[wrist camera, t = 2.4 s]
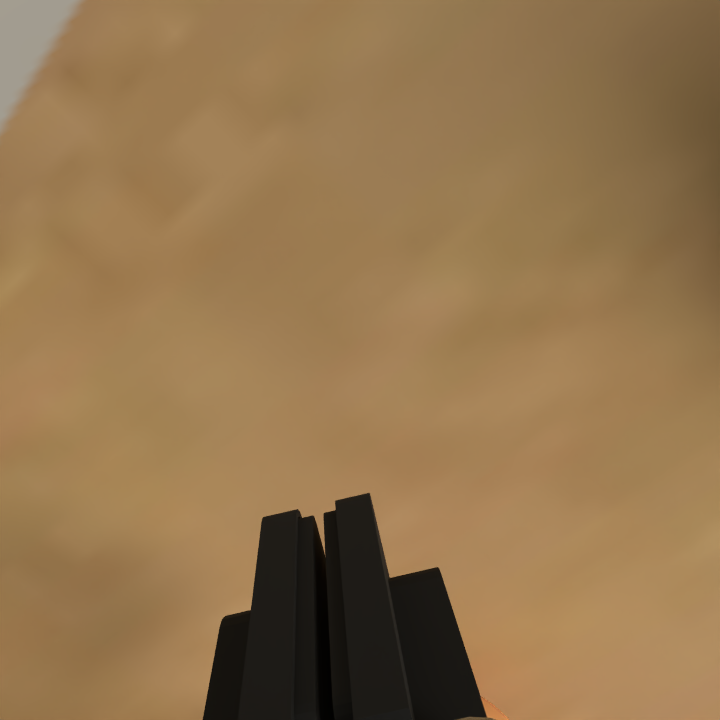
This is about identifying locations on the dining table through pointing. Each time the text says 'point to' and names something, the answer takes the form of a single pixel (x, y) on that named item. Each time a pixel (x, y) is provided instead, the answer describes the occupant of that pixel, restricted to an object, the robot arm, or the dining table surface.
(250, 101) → the dining table surface
